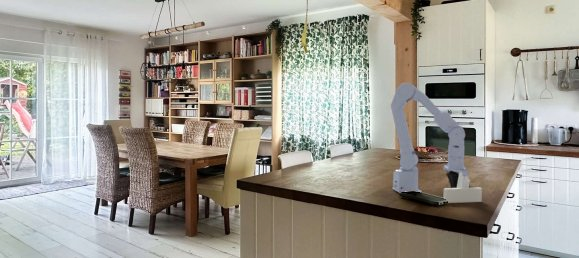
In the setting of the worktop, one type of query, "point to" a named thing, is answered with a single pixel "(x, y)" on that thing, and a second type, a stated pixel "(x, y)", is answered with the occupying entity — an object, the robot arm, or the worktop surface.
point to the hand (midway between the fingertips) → (454, 191)
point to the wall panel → (463, 195)
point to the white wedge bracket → (463, 181)
